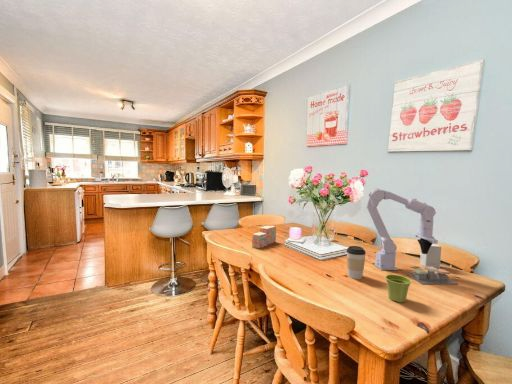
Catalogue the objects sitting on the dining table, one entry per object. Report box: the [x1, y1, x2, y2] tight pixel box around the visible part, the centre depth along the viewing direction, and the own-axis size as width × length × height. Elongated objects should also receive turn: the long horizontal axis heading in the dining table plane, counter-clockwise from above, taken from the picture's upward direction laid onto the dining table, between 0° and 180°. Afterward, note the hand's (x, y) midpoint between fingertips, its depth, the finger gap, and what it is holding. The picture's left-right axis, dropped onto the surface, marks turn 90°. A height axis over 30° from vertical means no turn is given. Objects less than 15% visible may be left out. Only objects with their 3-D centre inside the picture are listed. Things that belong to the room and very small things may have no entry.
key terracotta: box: [437, 268, 450, 275], centre depth 126 cm, size 4×4×4 cm
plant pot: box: [385, 274, 412, 303], centre depth 105 cm, size 9×9×9 cm
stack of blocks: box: [251, 225, 277, 249], centre depth 182 cm, size 21×6×12 cm, turn 144°
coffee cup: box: [346, 245, 367, 280], centre depth 127 cm, size 9×9×15 cm
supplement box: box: [419, 243, 442, 269], centre depth 142 cm, size 7×7×13 cm
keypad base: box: [405, 272, 458, 285], centre depth 126 cm, size 17×12×2 cm
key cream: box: [424, 267, 438, 275], centre depth 125 cm, size 4×4×4 cm
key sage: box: [413, 268, 428, 275], centre depth 125 cm, size 4×4×4 cm
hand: (424, 253), depth 134 cm, fingers closed
